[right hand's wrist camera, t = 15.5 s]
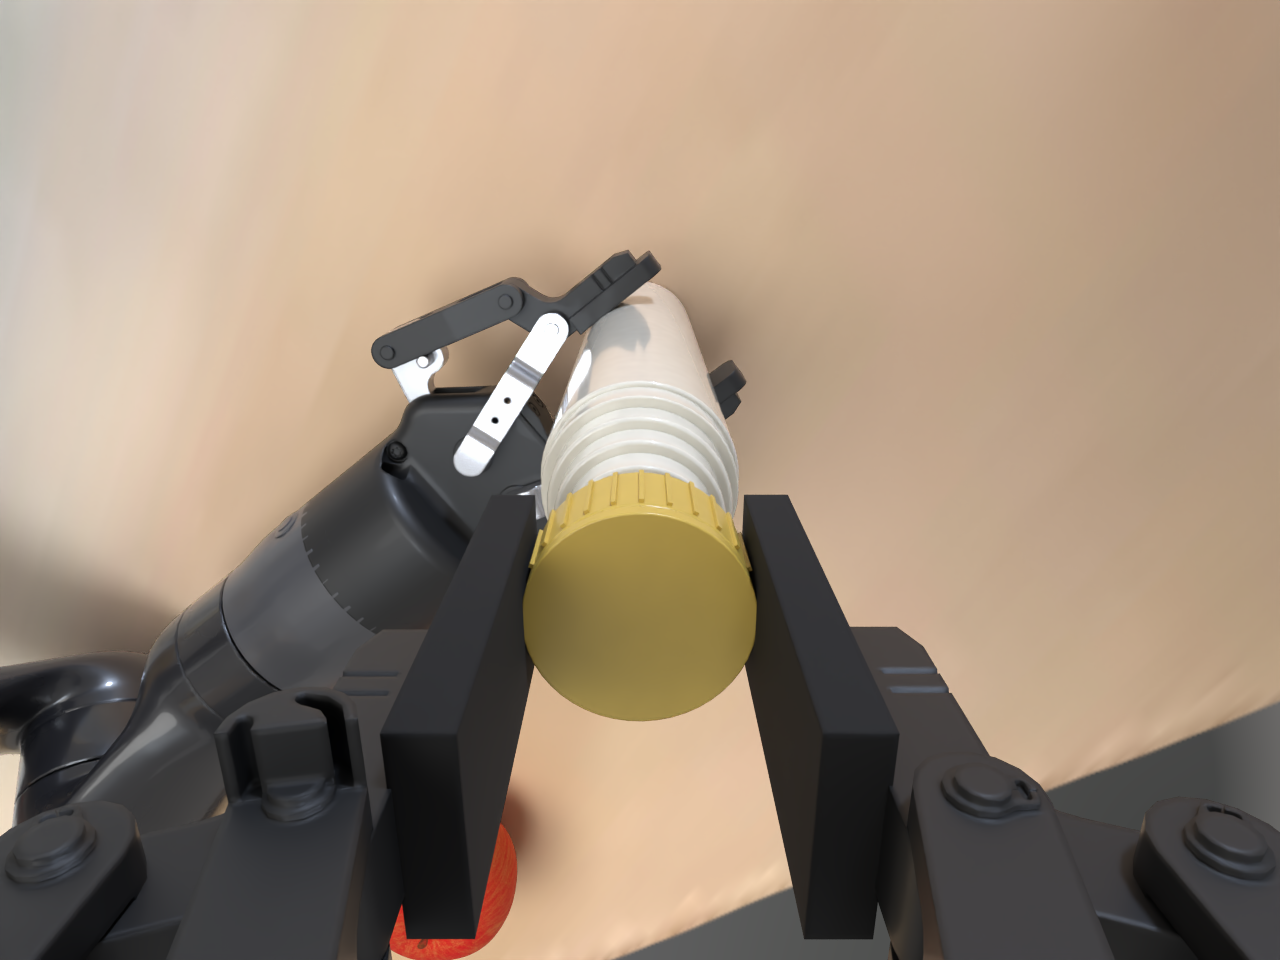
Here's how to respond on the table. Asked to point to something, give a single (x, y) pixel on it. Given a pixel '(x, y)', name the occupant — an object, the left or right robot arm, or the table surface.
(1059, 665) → the table surface
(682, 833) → the table surface
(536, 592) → the cap
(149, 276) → the table surface
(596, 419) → the bottle
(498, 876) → the apple
